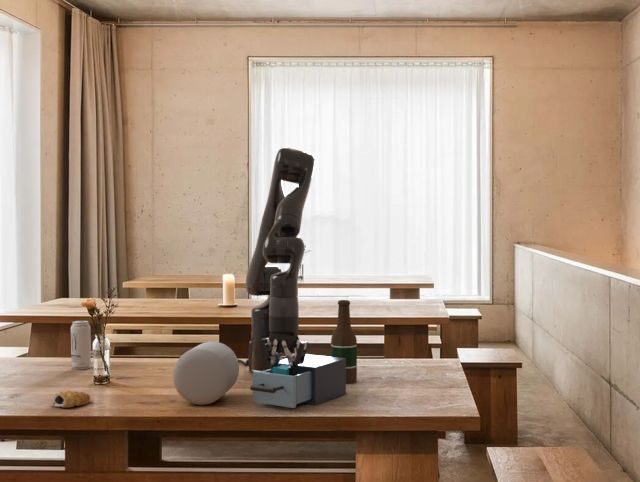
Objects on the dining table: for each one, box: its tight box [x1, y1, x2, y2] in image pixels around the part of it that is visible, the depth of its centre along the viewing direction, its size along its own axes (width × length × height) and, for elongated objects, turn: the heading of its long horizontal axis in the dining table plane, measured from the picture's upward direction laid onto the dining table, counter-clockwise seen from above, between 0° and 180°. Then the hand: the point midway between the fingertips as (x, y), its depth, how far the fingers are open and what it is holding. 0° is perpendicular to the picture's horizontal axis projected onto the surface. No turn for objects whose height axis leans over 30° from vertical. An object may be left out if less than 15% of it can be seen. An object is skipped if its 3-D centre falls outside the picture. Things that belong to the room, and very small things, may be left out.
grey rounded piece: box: [159, 341, 240, 406], centre depth 223 cm, size 19×15×25 cm
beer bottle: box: [330, 299, 358, 385], centre depth 243 cm, size 8×8×24 cm
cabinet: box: [279, 353, 347, 405], centre depth 224 cm, size 16×14×10 cm
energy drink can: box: [70, 320, 92, 371], centre depth 264 cm, size 6×6×15 cm
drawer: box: [249, 369, 313, 409], centre depth 213 cm, size 20×13×8 cm, turn 149°
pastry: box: [51, 390, 91, 409], centre depth 214 cm, size 9×7×4 cm
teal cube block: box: [272, 365, 289, 375], centre depth 214 cm, size 4×4×4 cm
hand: (284, 379), depth 214 cm, fingers closed on teal cube block, 4 cm apart
